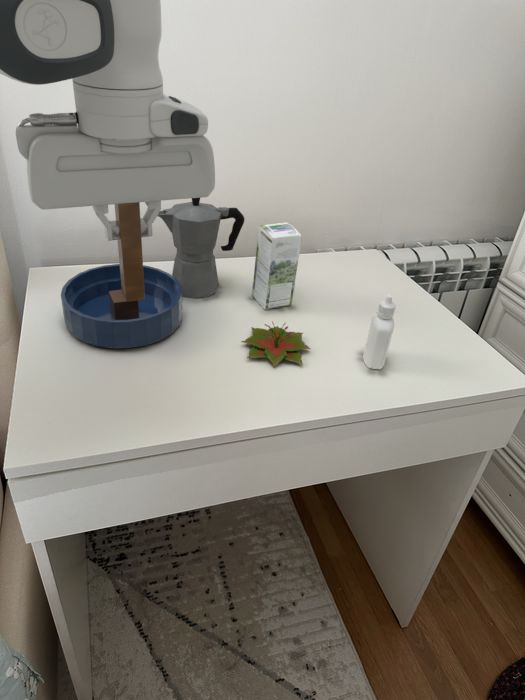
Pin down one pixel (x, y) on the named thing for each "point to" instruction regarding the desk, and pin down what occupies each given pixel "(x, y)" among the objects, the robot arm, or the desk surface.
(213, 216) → the coffeepot
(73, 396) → the desk surface
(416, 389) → the desk surface
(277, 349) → the lily flower
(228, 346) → the desk surface
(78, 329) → the bowl
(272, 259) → the syrup box
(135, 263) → the stick
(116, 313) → the block
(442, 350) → the desk surface
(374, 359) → the eye dropper bottle
